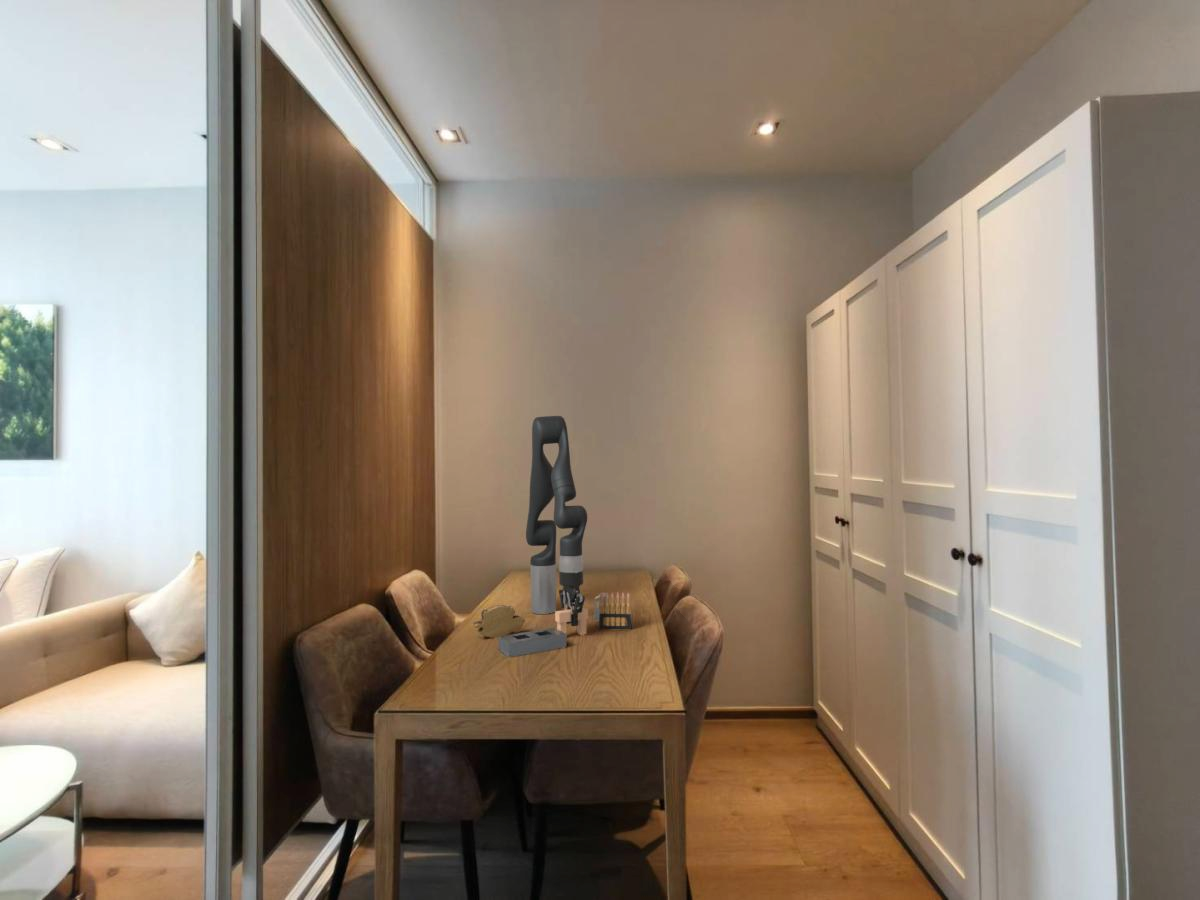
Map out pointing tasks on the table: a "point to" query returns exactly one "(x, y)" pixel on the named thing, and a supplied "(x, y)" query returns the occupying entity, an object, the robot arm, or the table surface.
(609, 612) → the ammunition clip
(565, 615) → the prong clip
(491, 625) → the wooden carving
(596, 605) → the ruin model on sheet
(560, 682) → the table surface
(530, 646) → the grey socket block
